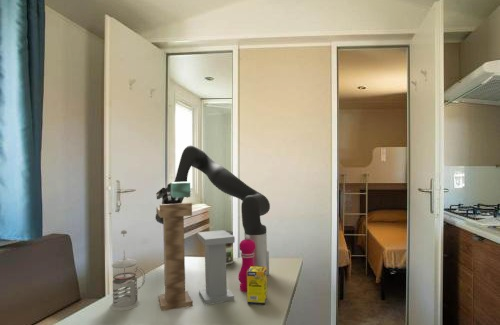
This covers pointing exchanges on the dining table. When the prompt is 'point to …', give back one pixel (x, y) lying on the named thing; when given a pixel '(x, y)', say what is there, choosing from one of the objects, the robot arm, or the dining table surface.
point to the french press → (125, 285)
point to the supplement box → (257, 285)
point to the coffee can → (229, 251)
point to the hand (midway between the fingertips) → (175, 184)
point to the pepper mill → (246, 260)
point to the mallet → (180, 189)
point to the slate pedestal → (215, 266)
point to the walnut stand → (174, 255)
